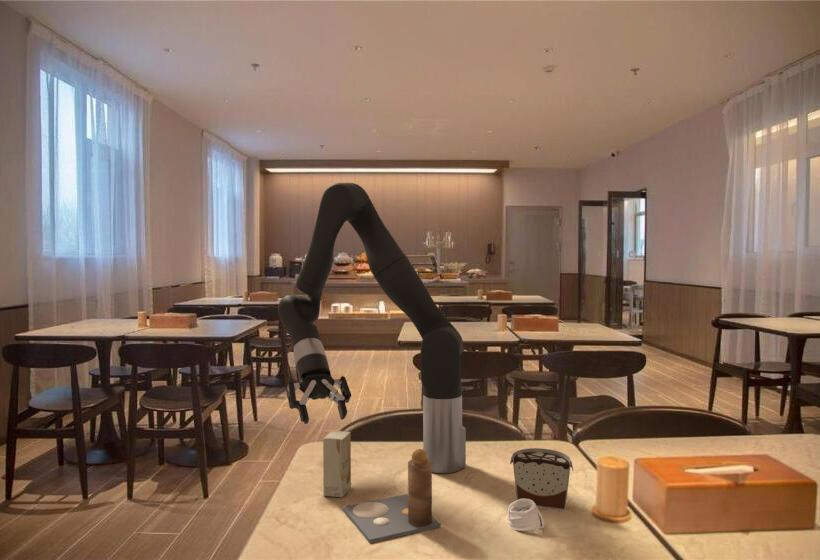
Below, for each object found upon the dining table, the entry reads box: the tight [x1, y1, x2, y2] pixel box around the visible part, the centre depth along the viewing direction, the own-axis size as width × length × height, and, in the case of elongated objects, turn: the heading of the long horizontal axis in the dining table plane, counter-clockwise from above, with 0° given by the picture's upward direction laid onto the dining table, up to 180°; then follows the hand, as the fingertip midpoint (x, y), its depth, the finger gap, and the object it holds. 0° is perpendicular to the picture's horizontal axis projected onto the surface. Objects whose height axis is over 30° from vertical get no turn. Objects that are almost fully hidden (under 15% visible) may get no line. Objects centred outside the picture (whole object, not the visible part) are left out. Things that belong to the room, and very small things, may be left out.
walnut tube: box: [407, 448, 433, 527], centre depth 107 cm, size 4×4×14 cm
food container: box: [509, 447, 574, 511], centre depth 117 cm, size 12×6×10 cm, turn 71°
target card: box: [341, 493, 442, 544], centre depth 110 cm, size 14×15×1 cm
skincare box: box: [322, 430, 352, 498], centre depth 122 cm, size 6×4×12 cm
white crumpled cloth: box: [506, 499, 545, 532], centre depth 107 cm, size 8×7×5 cm
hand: (325, 419), depth 130 cm, fingers open, 8 cm apart
